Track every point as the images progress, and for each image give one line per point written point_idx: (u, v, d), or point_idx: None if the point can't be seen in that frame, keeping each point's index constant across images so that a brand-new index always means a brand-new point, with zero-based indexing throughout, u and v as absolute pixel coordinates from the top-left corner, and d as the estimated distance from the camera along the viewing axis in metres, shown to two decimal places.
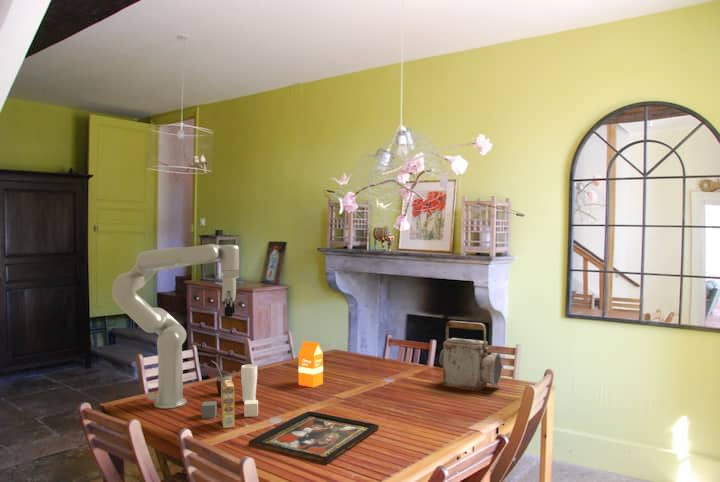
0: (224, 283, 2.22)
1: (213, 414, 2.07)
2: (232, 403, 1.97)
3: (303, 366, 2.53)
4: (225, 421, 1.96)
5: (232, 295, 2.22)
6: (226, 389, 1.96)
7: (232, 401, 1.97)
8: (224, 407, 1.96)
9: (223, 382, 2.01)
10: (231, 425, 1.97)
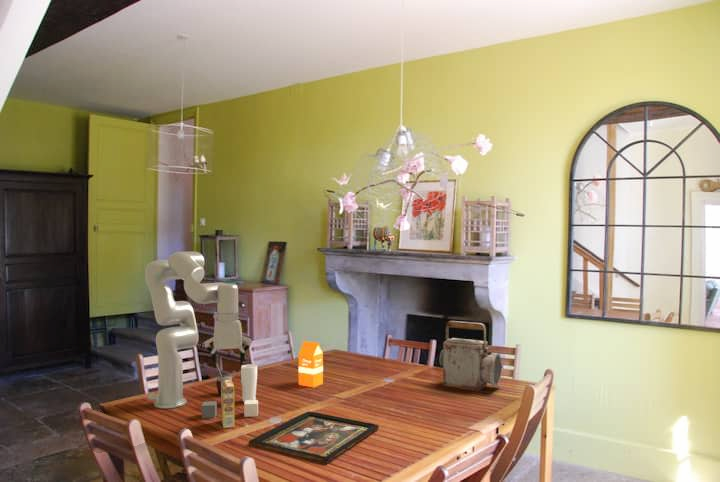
0: (240, 327, 1.99)
1: (213, 414, 2.07)
2: (232, 403, 1.97)
3: (303, 366, 2.53)
4: (225, 421, 1.96)
5: None
6: (226, 389, 1.96)
7: (232, 401, 1.97)
8: (224, 407, 1.96)
9: (223, 382, 2.01)
10: (231, 425, 1.97)
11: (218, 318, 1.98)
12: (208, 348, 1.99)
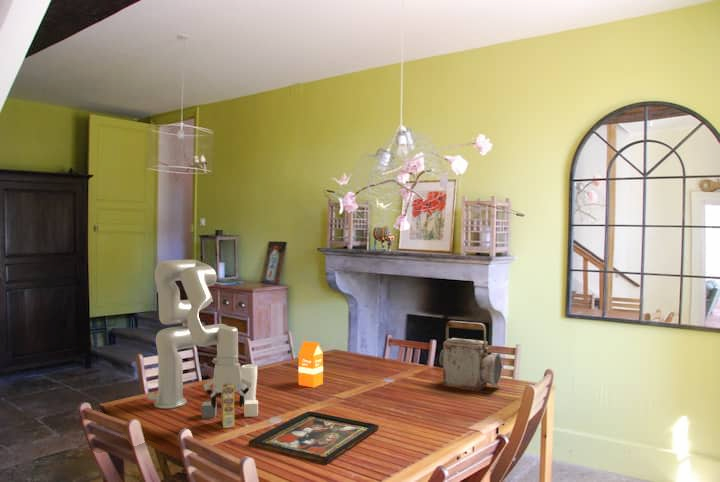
0: (240, 370, 1.99)
1: (213, 414, 2.07)
2: (232, 403, 1.97)
3: (303, 366, 2.53)
4: (225, 421, 1.96)
5: None
6: (226, 389, 1.96)
7: (232, 401, 1.97)
8: (224, 407, 1.96)
9: None
10: (231, 425, 1.97)
11: (218, 361, 1.98)
12: (207, 391, 1.99)
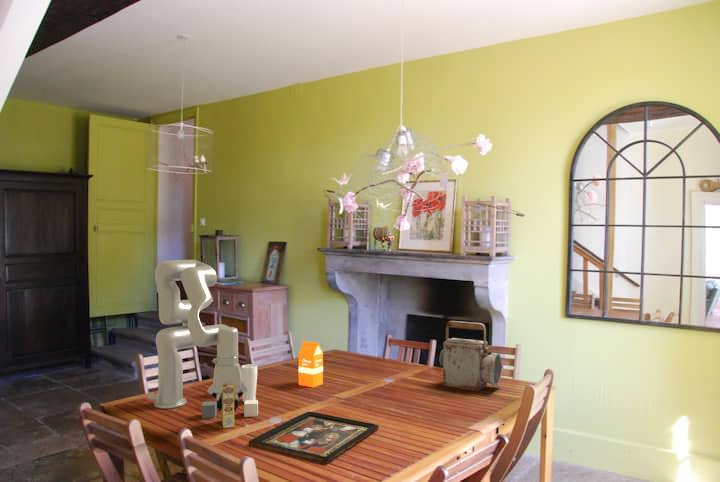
0: (240, 371, 2.00)
1: (213, 414, 2.07)
2: (232, 403, 1.97)
3: (303, 366, 2.53)
4: (225, 421, 1.96)
5: None
6: (226, 389, 1.96)
7: (232, 401, 1.97)
8: (224, 407, 1.96)
9: None
10: (231, 425, 1.97)
11: (218, 362, 1.98)
12: (213, 394, 1.99)
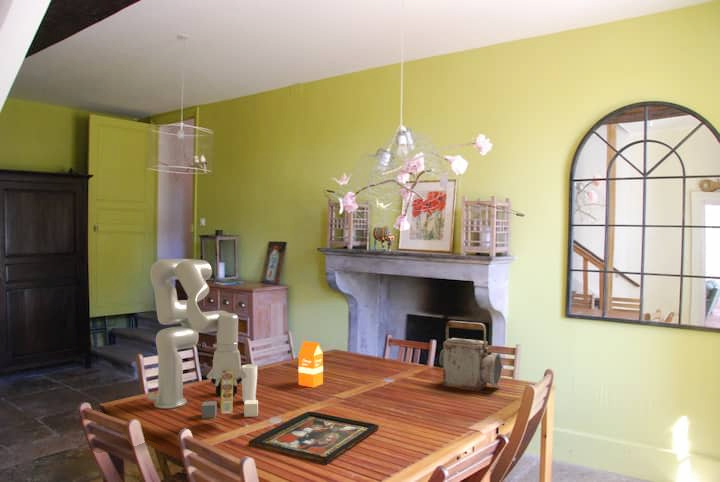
0: (239, 357, 2.00)
1: (213, 414, 2.07)
2: (231, 389, 1.97)
3: (303, 366, 2.53)
4: (223, 407, 1.97)
5: None
6: (226, 375, 1.96)
7: (231, 387, 1.97)
8: (223, 393, 1.96)
9: None
10: (229, 411, 1.97)
11: (217, 348, 1.98)
12: (212, 380, 1.99)
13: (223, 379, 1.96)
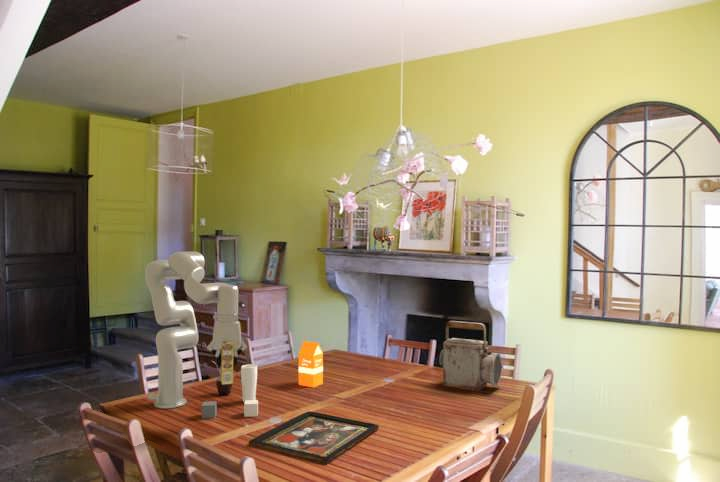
0: (239, 328, 2.00)
1: (213, 414, 2.07)
2: (231, 360, 1.97)
3: (303, 366, 2.53)
4: (224, 377, 1.96)
5: None
6: (226, 346, 1.96)
7: (231, 358, 1.97)
8: (223, 363, 1.96)
9: None
10: (229, 382, 1.97)
11: (218, 319, 1.98)
12: (213, 351, 1.99)
13: (223, 350, 1.96)
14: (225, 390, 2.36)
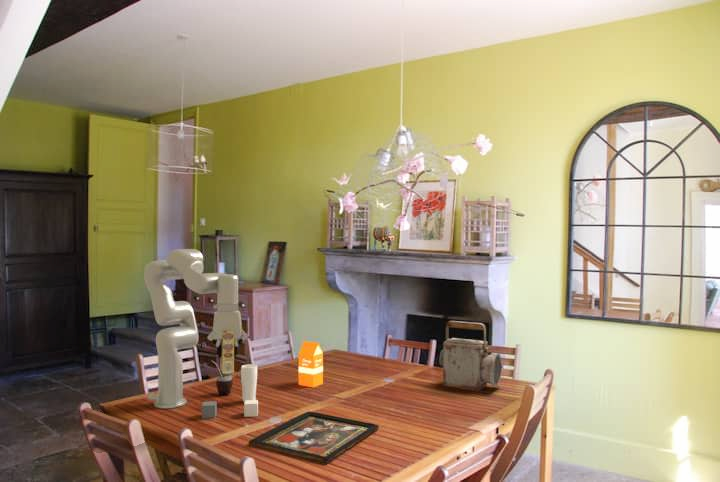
0: (240, 317, 1.99)
1: (213, 414, 2.07)
2: (232, 349, 1.97)
3: (303, 366, 2.53)
4: (224, 367, 1.96)
5: None
6: (226, 335, 1.96)
7: (232, 347, 1.97)
8: (224, 353, 1.96)
9: None
10: (230, 371, 1.97)
11: (218, 308, 1.98)
12: (213, 341, 1.99)
13: (224, 339, 1.96)
14: (225, 390, 2.36)
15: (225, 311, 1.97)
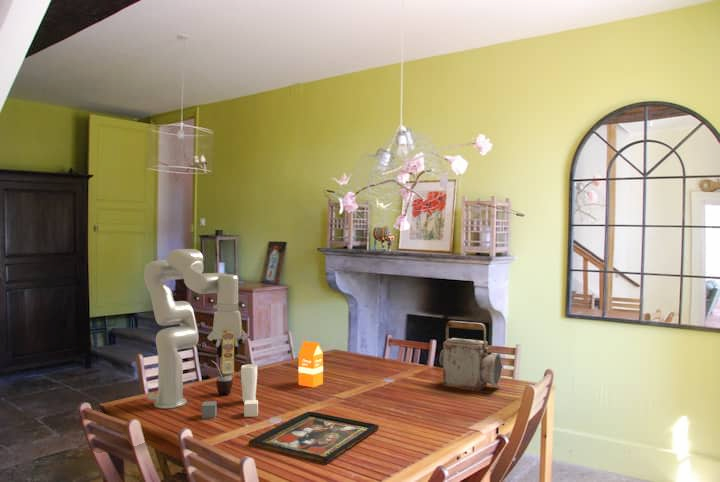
0: (240, 317, 1.99)
1: (213, 414, 2.07)
2: (232, 349, 1.97)
3: (303, 366, 2.53)
4: (224, 367, 1.96)
5: None
6: (226, 335, 1.96)
7: (232, 347, 1.97)
8: (224, 353, 1.96)
9: None
10: (230, 371, 1.97)
11: (218, 308, 1.98)
12: (213, 341, 1.99)
13: (224, 339, 1.96)
14: (225, 390, 2.36)
15: (225, 311, 1.97)
